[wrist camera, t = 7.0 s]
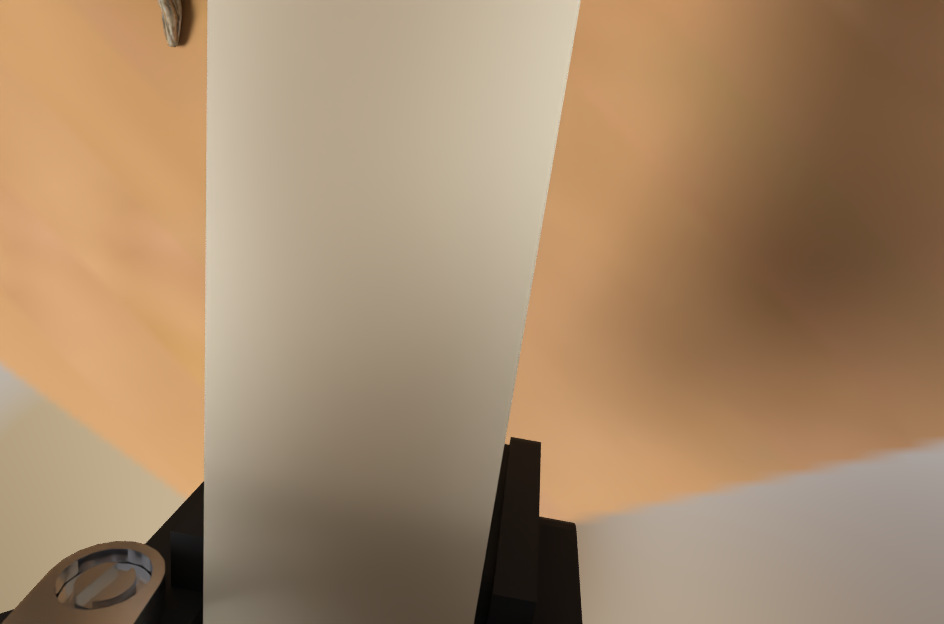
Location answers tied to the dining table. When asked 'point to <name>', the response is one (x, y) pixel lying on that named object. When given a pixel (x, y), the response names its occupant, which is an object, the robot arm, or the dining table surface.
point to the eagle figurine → (171, 20)
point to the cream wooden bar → (367, 295)
